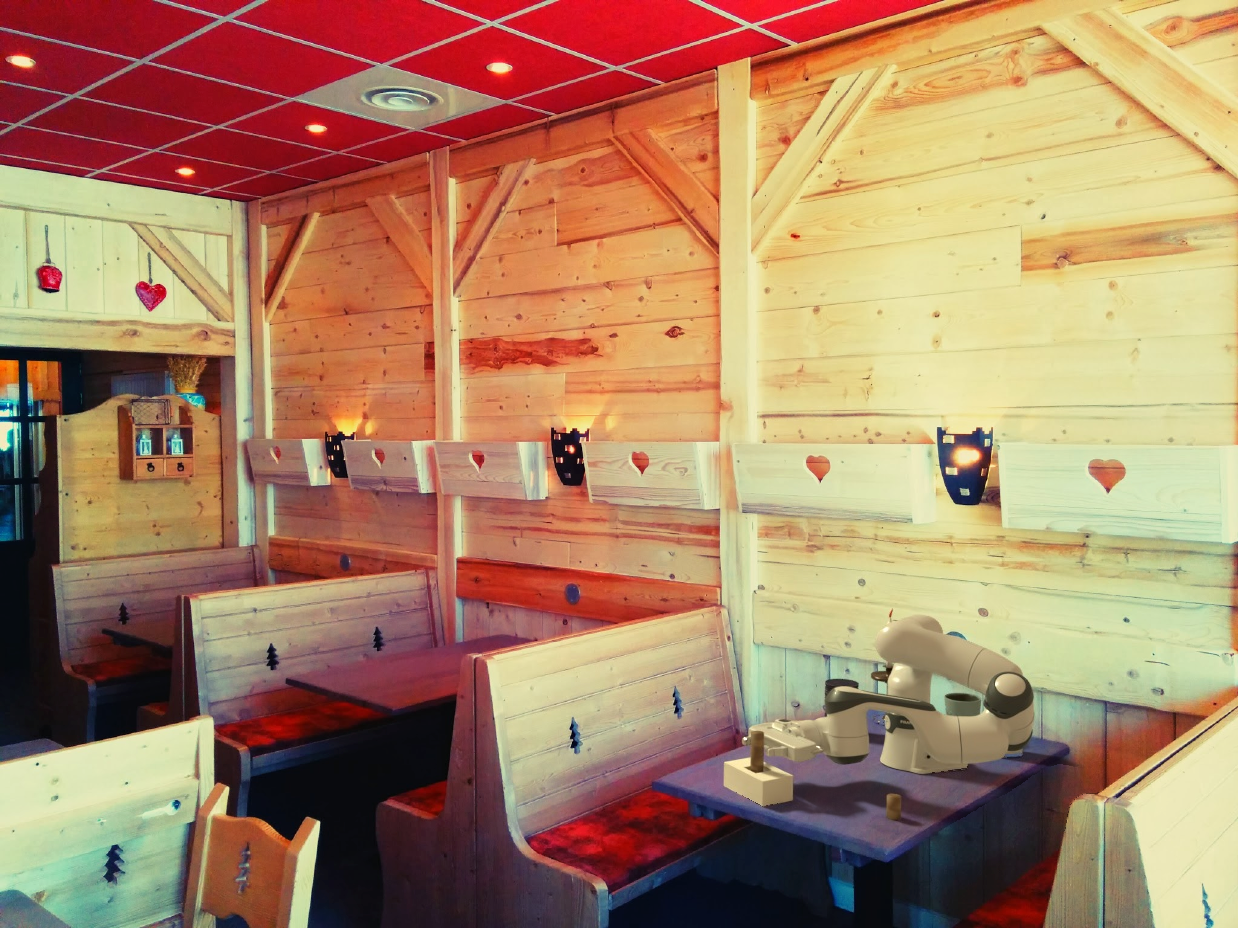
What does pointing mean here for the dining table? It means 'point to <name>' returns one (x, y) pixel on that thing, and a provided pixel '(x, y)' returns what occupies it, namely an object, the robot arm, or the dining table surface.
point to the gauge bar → (758, 782)
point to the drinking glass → (962, 704)
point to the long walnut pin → (757, 752)
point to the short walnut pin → (893, 807)
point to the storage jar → (839, 685)
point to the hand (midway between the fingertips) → (755, 746)
